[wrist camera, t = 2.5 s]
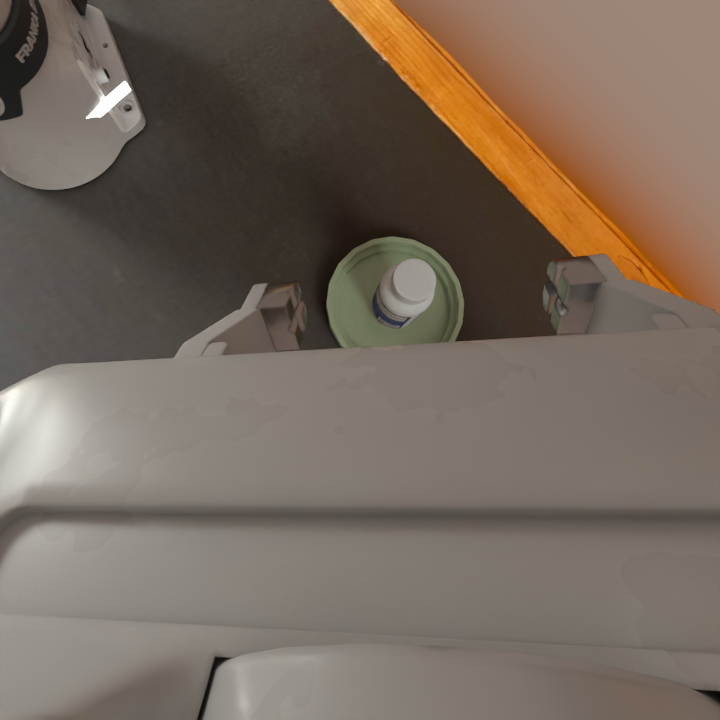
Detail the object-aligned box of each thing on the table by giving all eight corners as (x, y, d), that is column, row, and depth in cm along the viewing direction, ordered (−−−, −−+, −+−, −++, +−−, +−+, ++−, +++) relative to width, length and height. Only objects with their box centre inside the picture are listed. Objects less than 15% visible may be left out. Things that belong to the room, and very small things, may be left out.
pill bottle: (405, 277, 45) (429, 242, 36) (424, 320, 45) (453, 295, 35) (362, 294, 44) (375, 262, 35) (381, 337, 44) (399, 317, 34)
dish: (315, 254, 45) (315, 247, 43) (441, 235, 47) (447, 228, 45) (340, 385, 43) (341, 384, 41) (470, 360, 45) (477, 358, 43)
